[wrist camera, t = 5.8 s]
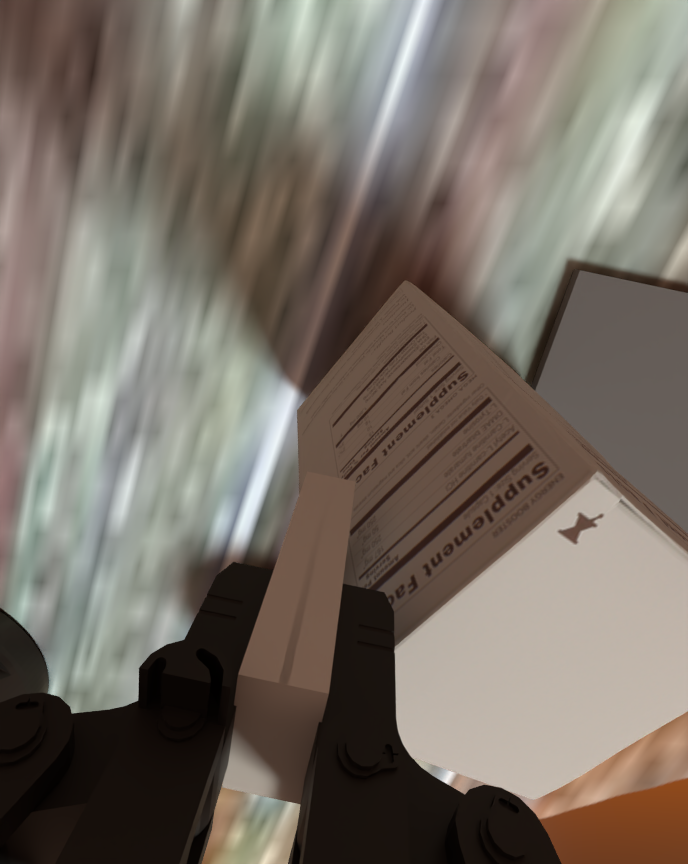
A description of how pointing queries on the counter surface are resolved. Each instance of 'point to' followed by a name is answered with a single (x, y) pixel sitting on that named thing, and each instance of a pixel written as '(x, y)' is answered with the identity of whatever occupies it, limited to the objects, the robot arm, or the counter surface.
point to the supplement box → (498, 556)
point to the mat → (625, 381)
